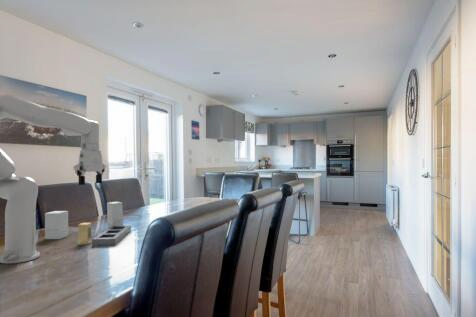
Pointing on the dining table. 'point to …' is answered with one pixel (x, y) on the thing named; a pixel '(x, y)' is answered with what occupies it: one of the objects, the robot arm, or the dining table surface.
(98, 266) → the dining table surface
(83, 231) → the brass block
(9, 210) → the robot arm
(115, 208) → the skincare box
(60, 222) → the supplement box
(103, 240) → the grey compartment tray
